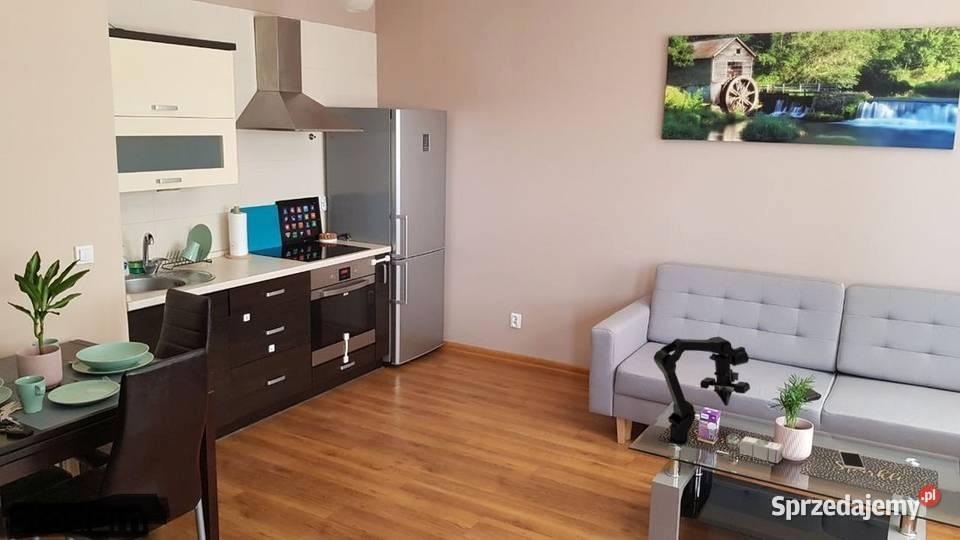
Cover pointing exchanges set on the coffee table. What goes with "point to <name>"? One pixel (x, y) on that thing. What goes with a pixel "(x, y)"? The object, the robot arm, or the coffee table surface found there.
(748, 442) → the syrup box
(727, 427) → the coffee table surface
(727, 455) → the traps
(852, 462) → the smartphone
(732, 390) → the robot arm
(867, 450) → the coffee table surface
